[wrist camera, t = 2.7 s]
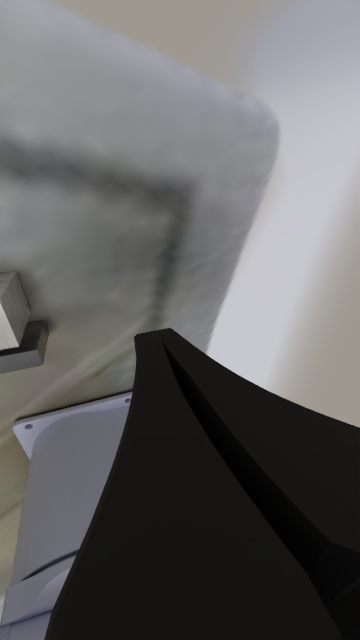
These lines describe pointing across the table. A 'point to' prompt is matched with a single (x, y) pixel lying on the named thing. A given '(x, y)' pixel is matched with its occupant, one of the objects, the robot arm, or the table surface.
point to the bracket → (26, 349)
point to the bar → (12, 310)
